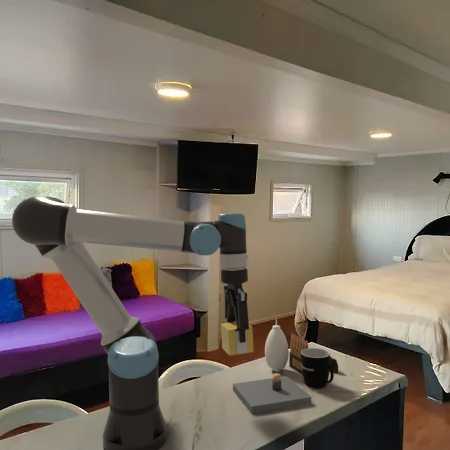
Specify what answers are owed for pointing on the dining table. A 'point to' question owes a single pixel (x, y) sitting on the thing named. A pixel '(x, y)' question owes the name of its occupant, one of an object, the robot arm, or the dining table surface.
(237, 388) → the board
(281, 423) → the dining table surface
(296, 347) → the ammunition clip
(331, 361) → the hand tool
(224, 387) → the dining table surface
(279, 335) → the air blower bulb
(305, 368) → the mug
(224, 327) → the mustard yellow cube
